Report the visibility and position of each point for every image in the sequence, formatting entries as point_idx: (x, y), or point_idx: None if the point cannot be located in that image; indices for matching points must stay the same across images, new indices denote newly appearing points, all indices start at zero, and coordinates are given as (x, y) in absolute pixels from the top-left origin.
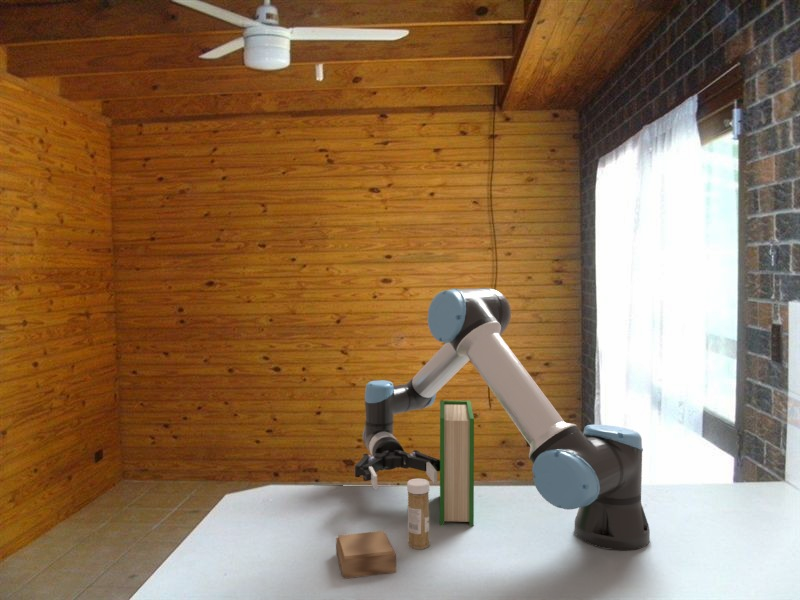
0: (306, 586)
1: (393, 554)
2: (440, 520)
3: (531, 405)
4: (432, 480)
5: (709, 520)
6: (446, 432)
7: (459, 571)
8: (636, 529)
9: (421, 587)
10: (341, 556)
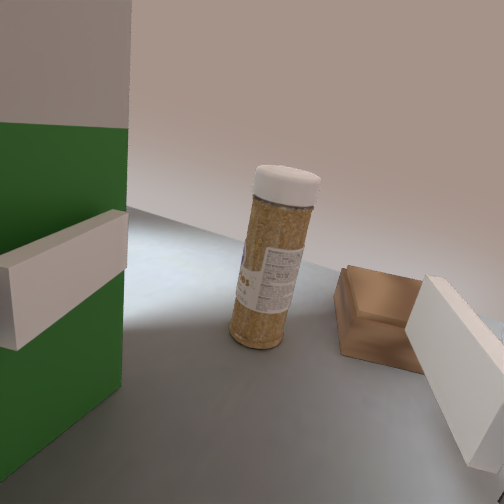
0: (490, 327)
1: (346, 269)
2: (120, 371)
3: None
4: (112, 273)
5: None
6: None
7: (232, 264)
8: None
9: (304, 267)
10: None
